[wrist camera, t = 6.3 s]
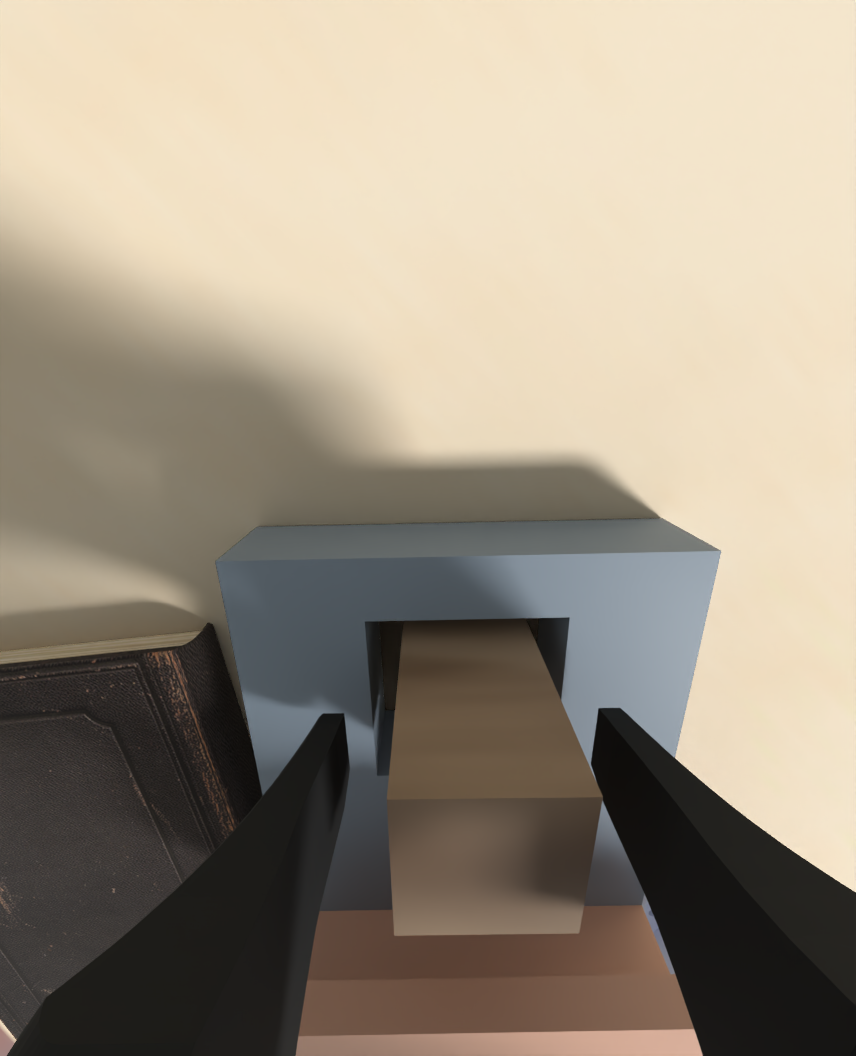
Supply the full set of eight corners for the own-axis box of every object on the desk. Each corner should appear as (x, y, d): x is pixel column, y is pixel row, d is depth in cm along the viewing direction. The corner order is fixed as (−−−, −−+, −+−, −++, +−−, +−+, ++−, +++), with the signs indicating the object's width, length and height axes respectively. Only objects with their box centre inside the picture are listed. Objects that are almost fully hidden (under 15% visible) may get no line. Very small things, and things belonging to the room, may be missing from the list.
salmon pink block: (638, 921, 17) (722, 1134, 12) (289, 927, 17) (235, 1142, 12) (660, 823, 15) (769, 1028, 10) (269, 830, 15) (196, 1038, 10)
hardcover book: (59, 989, 24) (23, 1049, 22) (-170, 655, 17) (-259, 696, 14) (331, 968, 23) (322, 1028, 21) (220, 614, 16) (188, 650, 14)
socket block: (607, 843, 19) (638, 921, 17) (309, 848, 19) (289, 927, 17) (662, 518, 14) (721, 551, 11) (257, 526, 14) (215, 561, 11)
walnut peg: (508, 683, 17) (579, 933, 9) (408, 683, 16) (394, 935, 9) (514, 593, 15) (603, 797, 8) (405, 594, 15) (386, 799, 8)
